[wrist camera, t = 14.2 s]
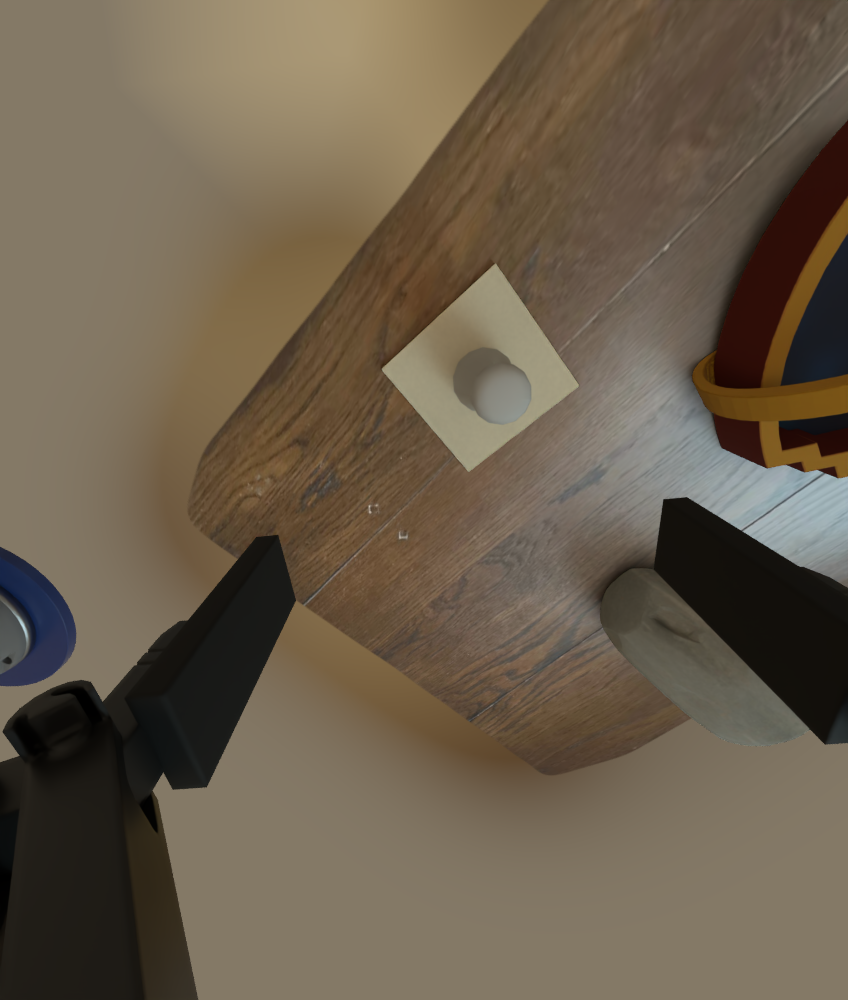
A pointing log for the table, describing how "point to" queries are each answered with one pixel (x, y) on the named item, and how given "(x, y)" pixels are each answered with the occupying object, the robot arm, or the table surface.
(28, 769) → the robot arm
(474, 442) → the placemat
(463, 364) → the salt shaker
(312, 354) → the table surface
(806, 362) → the decorative basket
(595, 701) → the table surface
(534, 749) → the table surface
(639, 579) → the decorative stone
